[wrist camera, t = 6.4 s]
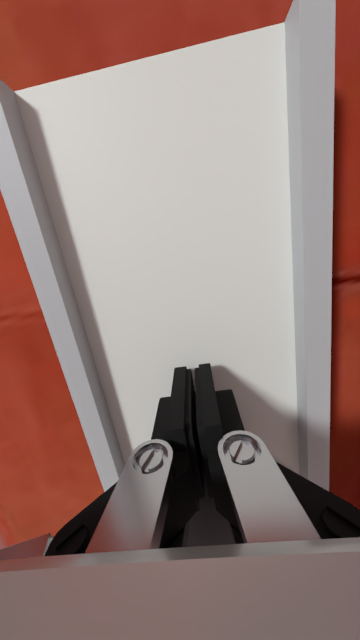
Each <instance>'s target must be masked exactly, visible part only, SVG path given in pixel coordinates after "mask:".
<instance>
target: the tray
mask: <svg viewBox="0 0 360 640" xmlns="http://www.w3.org/2000/svg"><path fill="white" fill-rule="evenodd" d="M335 3H336V0H293V3H292V5H291V7H290V10H289V12H288V15H287V17H286V20H285V22H284V23H280V24H276V25H272V26H268V27H264V28H260V29H256V30H253V31H249V32H245V33H241V34H237V35H233V36H229V37H225V38H221V39H217V40H214V41H210V42H206V43H202V44H198V45H194V46H190V47H186V48H182V49H178V50H175V51H171V52H167V53H163V54H159V55H155V56H151V57H147V58H143V59H139V60H136V61H132V62H128V63H124V64H120V65H116V66H112V67H108V68H104V69H100V70H97V71H93V72H89V73H85V74H81V75H77V76H73V77H69V78H65V79H61V80H58V81H54V82H50V83H46V84H42V85H38V86H34V87H30V88H26V89H22V90H19V91H15V92H14V91H13V90H12V89H11V88H9V87H8V86H7V85H6V84H5V83H4V82H3V81H2V80H1V79H0V189H1V192H2V195H3V198H4V201H5V204H6V207H7V210H8V213H9V216H10V218H11V221H12V224H13V227H14V230H15V233H16V236H17V239H18V242H19V245H20V248H21V250H22V253H23V256H24V259H25V262H26V265H27V268H28V271H29V274H30V277H31V280H32V282H33V285H34V288H35V291H36V294H37V297H38V300H39V303H40V306H41V309H42V312H43V315H44V317H45V320H46V323H47V326H48V329H49V332H50V335H51V338H52V341H53V344H54V347H55V349H56V352H57V355H58V358H59V361H60V364H61V367H62V370H63V373H64V376H65V379H66V381H67V384H68V387H69V390H70V393H71V396H72V399H73V402H74V405H75V408H76V411H77V413H78V416H79V419H80V422H81V425H82V428H83V431H84V434H85V437H86V440H87V443H88V446H89V448H90V451H91V454H92V457H93V460H94V463H95V466H96V469H97V472H98V475H99V478H100V480H101V483H102V486H103V489H104V492H105V491H107V490H108V489H109V488H110V487H111V486H113V485H114V484H115V483H116V482H117V481H118V480H119V478H120V476H121V473H122V471H123V469H124V467H125V465H126V463H127V460H128V458H129V456H130V455H131V453H132V451H133V450H134V449H135V448H136V447H137V446H139V445H140V444H142V443H143V442H146V441H148V440H151V437H152V432H153V428H154V423H155V418H156V413H157V409H158V404H159V400H160V398H162V397H170V396H171V390H172V383H173V375H174V368H176V367H184V366H186V367H187V369H191V371H192V376H193V382H194V388H195V368H199V364H206V363H210V365H211V371H212V376H213V382H214V387H215V391H220V390H228V389H232V391H233V394H234V397H235V400H236V404H237V407H238V410H239V413H240V417H241V420H242V423H243V426H244V429H245V431H248V432H251V433H253V434H255V435H257V436H258V437H259V438H261V440H262V441H263V442H264V443H265V445H266V447H267V448H268V450H269V452H270V453H271V455H272V457H273V459H274V460H275V461H276V462H278V463H279V464H281V465H283V466H285V467H286V468H288V469H290V470H292V471H294V472H295V473H297V474H299V475H301V476H302V477H304V478H306V479H308V480H309V481H311V482H313V483H315V484H316V485H318V486H320V487H322V488H323V489H325V490H327V491H329V462H330V386H331V309H332V232H333V156H334V79H335Z"/></svg>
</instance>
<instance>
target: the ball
mask: <svg viewBox="0 0 360 640" xmlns="http://www.w3.org/2000/svg"><path fill="white" fill-rule="evenodd" d="M203 476H204V493H205V499H199V506H200V511H196V513H195V514H194V515H193V516H192V518H191V519H190V520H189V521H188V523H189V534H188V542H187V547H195V546H212V545H228V544H234V542H233V538H232V534H231V531H230V526H229V521H228V520H226V519H225V518H224V517H223V516H222V515H221V514H220V513H219V512H218V511H217V510H216V506H215V500H214V498H209V493H208V488H207V482H206V477H205V471H204V465H203Z"/></svg>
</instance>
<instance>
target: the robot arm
mask: <svg viewBox="0 0 360 640" xmlns="http://www.w3.org/2000/svg"><path fill="white" fill-rule="evenodd" d="M203 465H204V471H205V477H206V482H207V488H208V493H209V498H214V500H215V506H216V510H217V511H218V512H219V513H220V514H221V515H222V516H223V517H224V518H225V519H226V520H228V521H229V526H230V531H231V534H232V538H233V542H234V544H228V545H212V546H195V547H187V542H188V534H189V523H188V521H189V520H190V519H191V518H192V516H193V515H194V514H195V513H196V511H200V506H199V499H205V493H204V476H203ZM0 640H360V510H358V509H357V508H356V507H354V506H353V505H351V504H350V503H348V502H346V501H345V500H343V499H341V498H339V497H338V496H336V495H334V494H332V493H331V492H329V491H327V490H325V489H323V488H322V487H320V486H318V485H316V484H315V483H313V482H311V481H309V480H308V479H306V478H304V477H302V476H301V475H299V474H297V473H295V472H294V471H292V470H290V469H288V468H286V467H285V466H283V465H281V464H279V463H278V462H276V461H275V460H274V459H273V457H272V455H271V453H270V452H269V450H268V448H267V447H266V445H265V443H264V442H263V441H262V440H261V438H259V437H258V436H257V435H255V434H253V433H251V432H248V431H245V429H244V426H243V423H242V420H241V417H240V413H239V410H238V407H237V404H236V400H235V397H234V394H233V391H232V389H228V390H220V391H215V387H214V382H213V376H212V371H211V365H210V363H206V364H199V368H195V388H194V382H193V376H192V371H191V369H187V367H186V366H184V367H176V368H174V375H173V383H172V390H171V396H170V397H162V398H160V400H159V404H158V409H157V413H156V418H155V423H154V428H153V432H152V437H151V440H148V441H146V442H143V443H142V444H140V445H139V446H137V447H136V448H135V449H134V450H133V451H132V453H131V455H130V456H129V458H128V460H127V463H126V465H125V467H124V469H123V471H122V473H121V476H120V478H119V480H118V481H117V482H116V483H115V484H114V485H113V486H111V487H110V488H109V489H108V490H107V491H105V492H104V493H103V494H102V495H101V496H99V497H98V498H97V499H96V500H95V501H93V502H92V503H91V504H90V505H88V506H87V507H86V508H85V509H84V510H82V511H81V512H80V513H79V514H78V515H76V516H75V517H74V518H73V519H72V520H70V521H69V522H68V523H67V524H66V525H65V526H64V527H63V528H62V529H61V530H60V531H58V533H57V534H56V535H55V536H54V537H52V536H51V534H50V533H48V534H45V535H42V536H39V537H36V538H33V539H30V540H27V541H24V542H21V543H18V544H15V545H12V546H9V547H6V548H3V549H0Z"/></svg>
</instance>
